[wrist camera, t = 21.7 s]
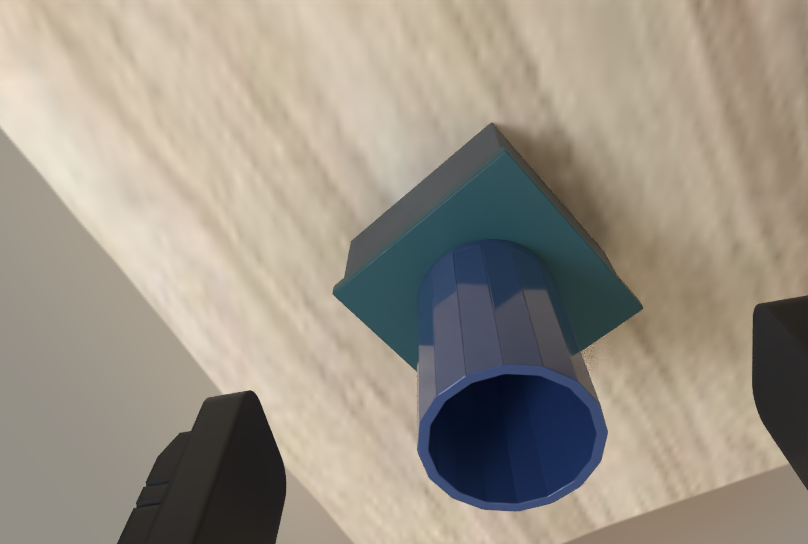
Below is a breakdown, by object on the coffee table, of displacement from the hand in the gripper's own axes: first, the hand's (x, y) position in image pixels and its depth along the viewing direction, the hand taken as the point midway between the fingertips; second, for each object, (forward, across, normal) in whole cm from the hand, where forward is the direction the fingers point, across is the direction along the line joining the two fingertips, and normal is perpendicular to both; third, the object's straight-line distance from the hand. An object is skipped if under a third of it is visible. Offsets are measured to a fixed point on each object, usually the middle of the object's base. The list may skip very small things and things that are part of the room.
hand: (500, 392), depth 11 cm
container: (+26, 0, +10) cm, 28 cm away
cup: (+20, 0, +10) cm, 22 cm away
